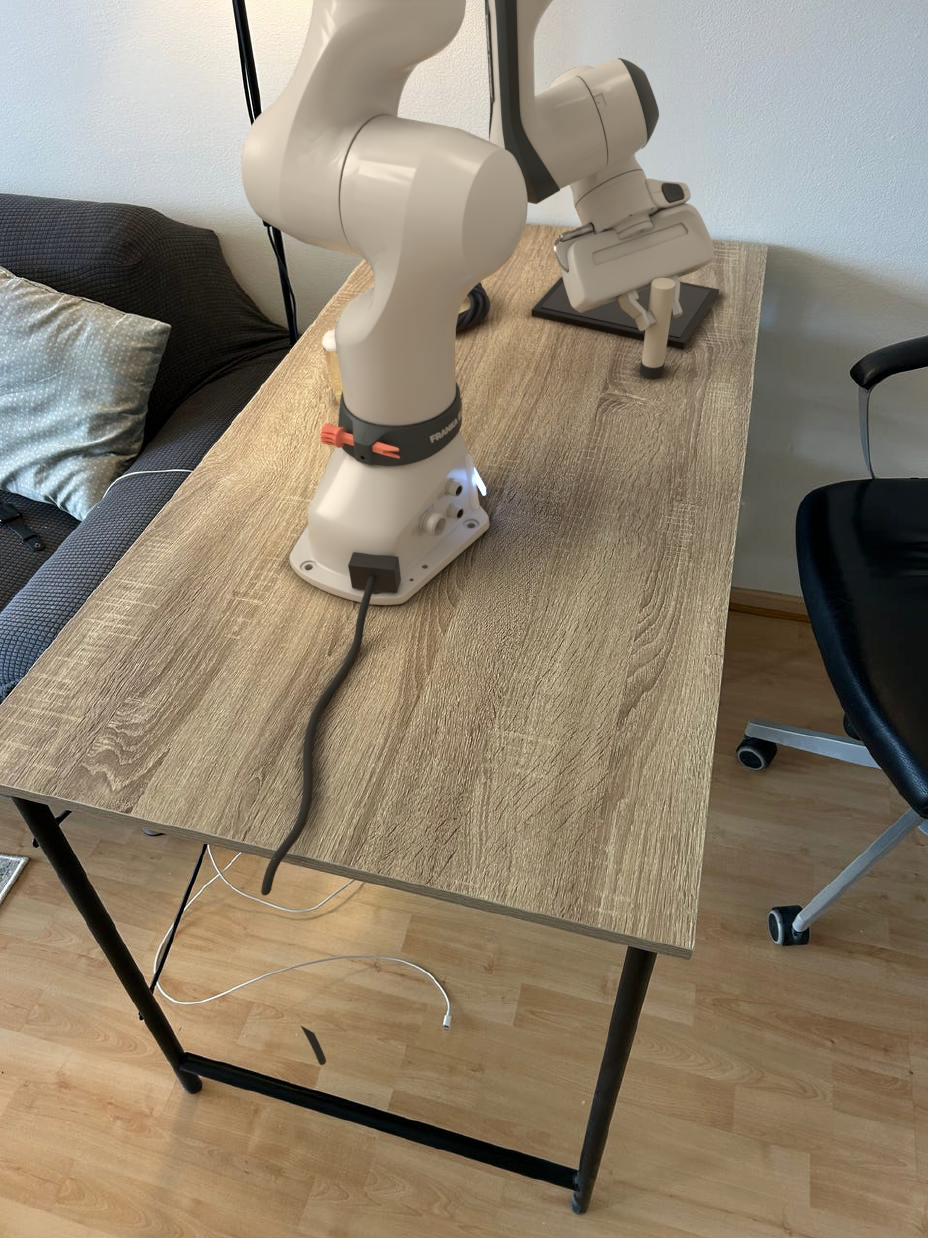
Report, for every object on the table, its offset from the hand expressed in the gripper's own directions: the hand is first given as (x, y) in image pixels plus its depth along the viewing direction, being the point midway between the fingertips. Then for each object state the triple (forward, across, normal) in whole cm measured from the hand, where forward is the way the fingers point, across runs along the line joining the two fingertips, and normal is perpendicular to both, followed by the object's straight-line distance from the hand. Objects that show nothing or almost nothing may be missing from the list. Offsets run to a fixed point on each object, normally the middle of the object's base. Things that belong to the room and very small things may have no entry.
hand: (662, 322), depth 109 cm
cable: (-16, -16, +26) cm, 34 cm away
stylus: (+5, 0, +6) cm, 7 cm away
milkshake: (-7, -34, +18) cm, 39 cm away
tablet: (-6, +8, +16) cm, 19 cm away
